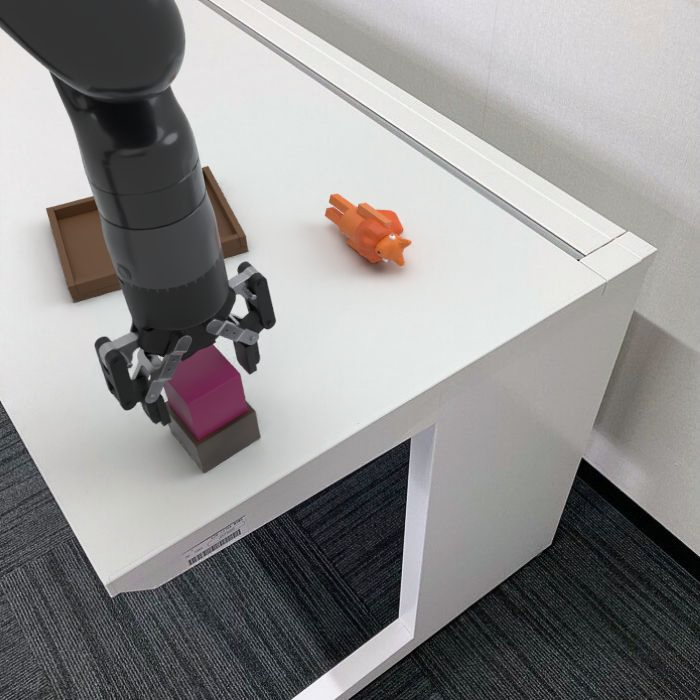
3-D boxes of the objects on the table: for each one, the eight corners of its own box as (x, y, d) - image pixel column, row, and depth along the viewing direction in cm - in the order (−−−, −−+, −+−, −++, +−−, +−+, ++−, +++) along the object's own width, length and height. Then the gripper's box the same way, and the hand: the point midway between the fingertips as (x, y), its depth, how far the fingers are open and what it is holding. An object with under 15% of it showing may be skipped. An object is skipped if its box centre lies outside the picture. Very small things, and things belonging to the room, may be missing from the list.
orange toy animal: (317, 187, 84) (390, 240, 78) (366, 179, 89) (438, 229, 83) (308, 227, 87) (377, 281, 81) (356, 218, 92) (425, 269, 86)
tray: (73, 302, 81) (67, 287, 80) (51, 223, 90) (45, 208, 89) (248, 251, 86) (246, 235, 85) (211, 181, 95) (208, 165, 94)
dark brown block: (204, 473, 67) (196, 447, 64) (170, 430, 70) (161, 403, 67) (261, 437, 69) (256, 411, 66) (225, 397, 72) (219, 370, 69)
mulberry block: (198, 440, 64) (187, 404, 61) (168, 404, 67) (156, 367, 63) (248, 410, 66) (240, 373, 63) (217, 376, 69) (208, 339, 65)
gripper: (223, 182, 58) (250, 328, 70) (47, 265, 52) (110, 408, 64) (280, 231, 54) (298, 376, 66) (97, 327, 48) (153, 466, 61)
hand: (205, 392), depth 65 cm, fingers open, 8 cm apart
